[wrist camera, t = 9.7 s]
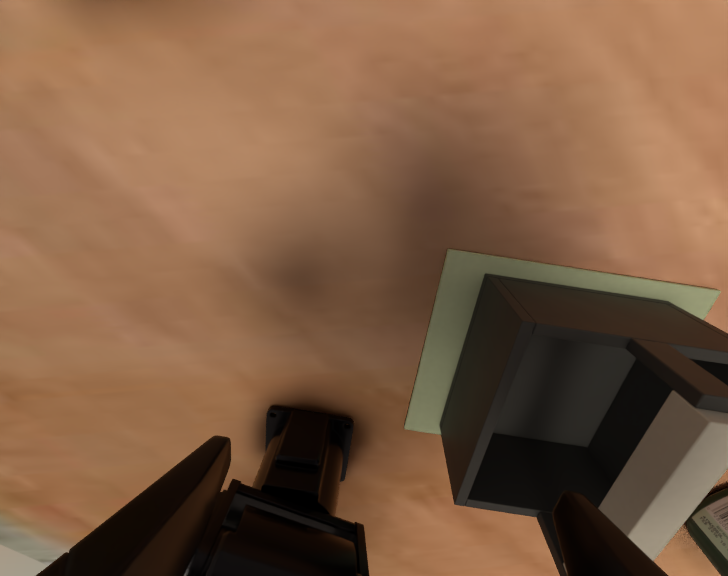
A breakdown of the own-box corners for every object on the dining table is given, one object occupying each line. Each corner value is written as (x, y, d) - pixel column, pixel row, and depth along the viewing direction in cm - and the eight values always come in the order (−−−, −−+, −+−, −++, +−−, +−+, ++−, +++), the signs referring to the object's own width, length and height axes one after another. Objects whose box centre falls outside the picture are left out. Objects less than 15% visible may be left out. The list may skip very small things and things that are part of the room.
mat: (614, 458, 25) (616, 462, 25) (403, 426, 25) (404, 429, 25) (716, 289, 20) (721, 291, 19) (447, 248, 20) (448, 249, 19)
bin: (587, 447, 25) (712, 633, 15) (438, 424, 25) (471, 596, 15) (668, 300, 20) (922, 438, 10) (484, 272, 20) (572, 384, 10)
